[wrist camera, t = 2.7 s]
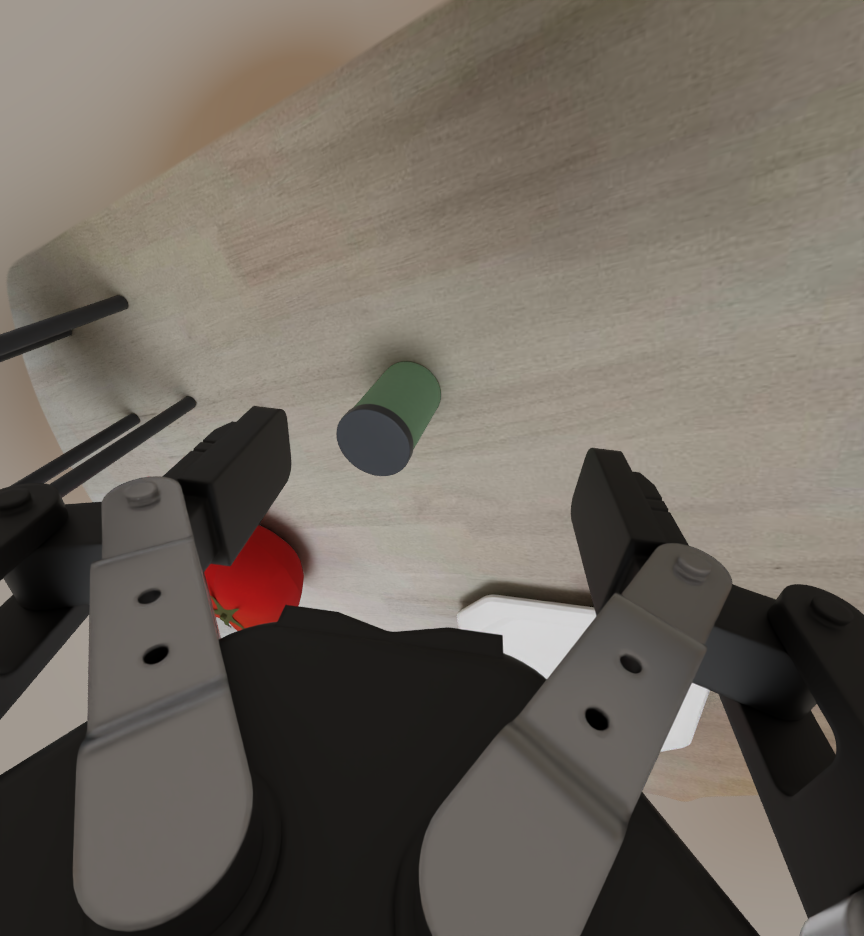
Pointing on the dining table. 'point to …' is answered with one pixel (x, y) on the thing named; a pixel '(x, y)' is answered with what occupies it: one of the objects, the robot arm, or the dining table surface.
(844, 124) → the dining table surface
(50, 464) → the tray
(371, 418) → the plastic tub
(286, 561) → the tomato
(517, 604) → the plate
